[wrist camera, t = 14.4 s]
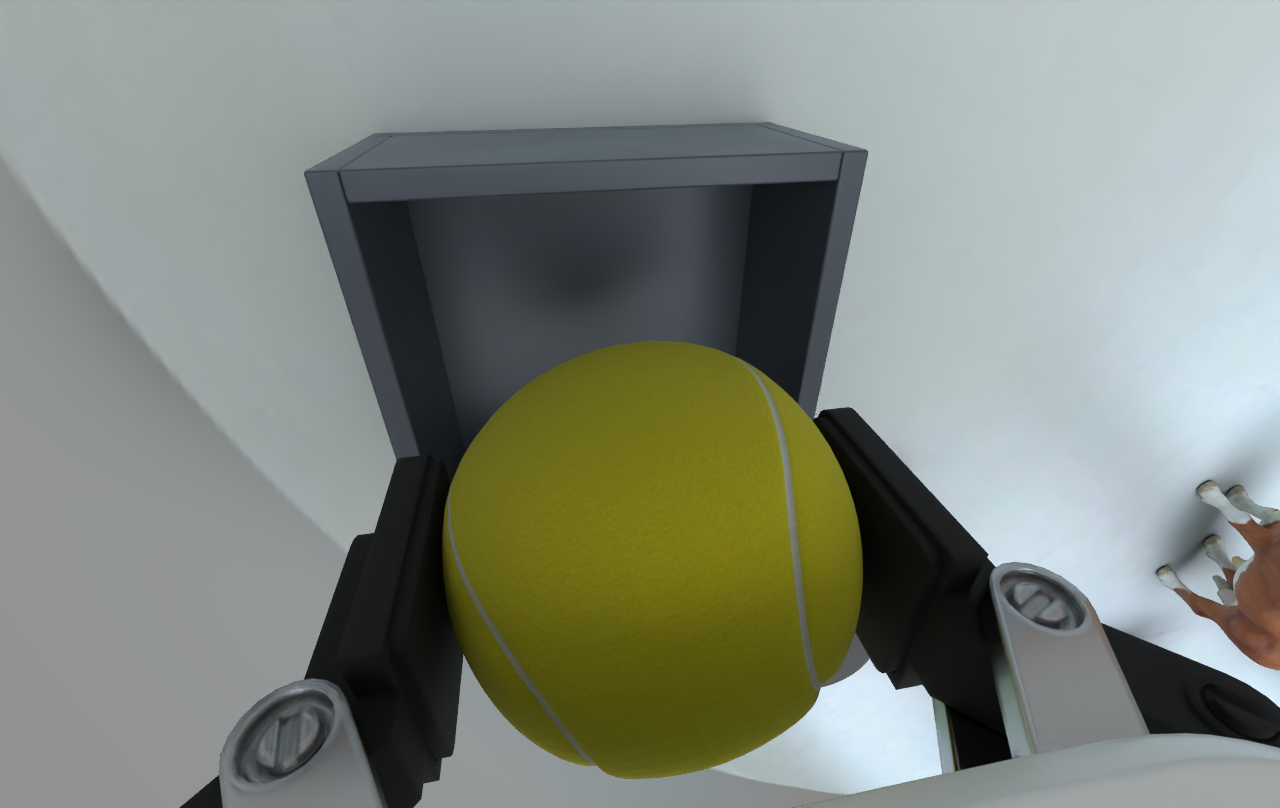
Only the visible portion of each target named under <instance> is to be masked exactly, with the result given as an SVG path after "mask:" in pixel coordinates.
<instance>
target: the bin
mask: <svg viewBox="0 0 1280 808" xmlns="http://www.w3.org/2000/svg"><path fill="white" fill-rule="evenodd" d="M867 156H868V151H867V150H866V149H862V148H858V147H855V146H851V145H848V144H844V143H841V142H837V141H833V140H830V139H826V138H823V137H819V136H816V135H812V134H809V133H805V132H801V131H798V130H794V129H791V128H787V127H784V126H780V125H777V124H773V123H770V122H765V123H730V124H695V125H661V126H626V127H592V128H557V129H522V130H488V131H453V132H418V133H384V134H373V135H371V136H369V137H368V138H366V139H364V140H362V141H360V142H358V143H357V144H355V145H353V146H351V147H349V148H347V149H345V150H344V151H342V152H340V153H338V154H336V155H334V156H333V157H331V158H329V159H327V160H325V161H323V162H321V163H320V164H318V165H316V166H314V167H312V168H310V169H309V170H307V171H305V172H304V175H305V178H306V182H307V185H308V188H309V191H310V194H311V197H312V200H313V203H314V206H315V209H316V212H317V216H318V219H319V222H320V225H321V228H322V231H323V234H324V237H325V240H326V243H327V246H328V250H329V253H330V256H331V259H332V262H333V265H334V268H335V271H336V274H337V277H338V280H339V284H340V287H341V290H342V293H343V296H344V299H345V302H346V305H347V308H348V311H349V314H350V317H351V321H352V324H353V327H354V330H355V333H356V336H357V339H358V342H359V345H360V348H361V351H362V355H363V358H364V361H365V364H366V367H367V370H368V373H369V376H370V379H371V382H372V385H373V389H374V392H375V395H376V398H377V401H378V404H379V407H380V410H381V413H382V416H383V419H384V423H385V426H386V429H387V432H388V435H389V438H390V441H391V444H392V447H393V450H394V453H395V457H396V460H397V459H399V458H403V457H412V456H421V455H429V454H430V455H432V457H433V459H434V462H436V461H443V462H444V463H445V466H446V470H447V473H448V477H449V481H450V485H451V483H452V481H453V478H454V476H455V473H456V471H457V469H458V466H459V464H460V462H461V460H462V458H463V456H464V454H465V453H466V451H467V449H468V448H469V446H470V444H471V443H472V441H473V440H474V438H475V437H476V436H477V434H478V433H479V432H480V430H481V429H482V428H483V427H484V425H485V424H486V423H487V421H488V420H489V419H490V418H491V417H492V416H493V414H494V413H495V412H496V411H497V410H498V409H499V408H500V407H501V406H502V405H503V404H504V403H505V402H506V401H507V400H508V399H509V398H510V397H512V396H513V395H514V394H515V393H516V392H518V391H519V390H520V389H521V388H523V387H524V386H525V385H527V384H528V383H529V382H531V381H532V380H534V379H535V378H537V377H538V376H540V375H541V374H543V373H544V372H546V371H548V370H550V369H552V368H554V367H556V366H557V365H559V364H561V363H563V362H566V361H568V360H570V359H573V358H575V357H577V356H579V355H582V354H586V353H589V352H592V351H595V350H598V349H602V348H606V347H610V346H614V345H620V344H626V343H632V342H643V341H675V342H685V343H691V344H697V345H701V346H706V347H710V348H714V349H717V350H720V351H722V352H725V353H727V354H729V355H732V356H734V357H737V358H739V359H741V360H743V361H745V362H747V363H749V364H750V365H752V366H754V367H755V368H757V369H758V370H760V371H761V372H762V373H764V374H765V375H766V376H768V377H769V378H770V379H771V380H772V381H774V382H775V383H776V384H777V385H778V386H780V387H781V388H782V389H783V390H784V391H785V392H786V393H787V394H788V395H789V396H791V397H792V398H793V399H794V400H795V402H796V403H797V404H798V405H799V406H800V407H801V408H802V409H803V410H804V412H805V413H806V414H807V415H808V416H809V417H810V419H811V420H813V419H814V416H815V411H816V406H817V401H818V396H819V391H820V386H821V381H822V376H823V371H824V367H825V362H826V357H827V352H828V347H829V342H830V337H831V332H832V327H833V323H834V318H835V313H836V308H837V303H838V298H839V293H840V288H841V283H842V279H843V274H844V269H845V264H846V259H847V254H848V249H849V244H850V239H851V234H852V230H853V225H854V220H855V215H856V210H857V205H858V200H859V195H860V190H861V186H862V181H863V176H864V171H865V166H866V161H867Z"/></svg>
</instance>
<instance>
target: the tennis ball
mask: <svg viewBox="0 0 1280 808" xmlns="http://www.w3.org/2000/svg"><path fill="white" fill-rule="evenodd" d="M442 562H443V579H444V586H445V593H446V600H447V606H448V610H449V614H450V617H451V621H452V625H453V628H454V631H455V634H456V637H457V639H458V642H459V644H460V647H461V649H462V651H463V654H464V656H465V658H466V660H467V662H468V664H469V666H470V668H471V670H472V671H473V673H474V675H475V677H476V679H477V680H478V682H479V683H480V685H481V686H482V688H483V690H484V691H485V693H486V694H487V695H488V697H489V698H490V700H491V701H492V702H493V704H494V705H495V706H496V707H497V709H498V710H499V711H500V712H501V713H502V715H503V716H504V717H505V718H506V719H507V720H508V721H509V722H510V723H511V724H512V725H513V726H514V727H515V728H516V729H517V730H518V731H519V732H520V733H522V734H523V735H524V736H525V737H527V738H528V739H529V740H531V741H532V742H533V743H535V744H536V745H538V746H539V747H540V748H542V749H544V750H546V751H548V752H550V753H551V754H553V755H555V756H557V757H559V758H561V759H563V760H566V761H569V762H572V763H575V764H578V765H584V766H596V765H597V766H598V767H599V768H600V769H602V770H603V771H604V772H606V773H607V774H609V775H612V776H615V777H618V778H625V779H643V778H660V777H668V776H675V775H681V774H686V773H691V772H696V771H701V770H704V769H707V768H711V767H714V766H717V765H721V764H723V763H726V762H728V761H731V760H733V759H735V758H738V757H740V756H743V755H745V754H747V753H749V752H750V751H752V750H754V749H756V748H758V747H760V746H762V745H764V744H766V743H767V742H769V741H770V740H772V739H774V738H775V737H777V736H778V735H780V734H782V733H783V732H784V731H786V730H787V729H789V728H790V727H791V726H793V725H794V724H795V723H797V722H798V721H799V720H800V719H801V718H802V717H804V716H805V715H806V714H807V712H808V711H809V710H810V709H811V708H812V707H813V705H814V704H815V702H816V700H817V698H818V695H819V691H820V688H821V685H822V684H823V683H825V682H826V681H828V680H829V679H830V678H832V677H833V676H834V675H835V674H836V673H837V671H838V670H839V668H840V667H841V666H842V664H843V661H844V659H845V657H846V655H847V653H848V651H849V648H850V645H851V643H852V640H853V637H854V633H855V630H856V626H857V621H858V617H859V612H860V605H861V596H862V586H863V557H862V543H861V536H860V529H859V523H858V518H857V514H856V510H855V506H854V502H853V499H852V496H851V493H850V490H849V487H848V484H847V482H846V479H845V476H844V474H843V471H842V469H841V467H840V465H839V463H838V461H837V459H836V457H835V455H834V453H833V452H832V450H831V448H830V446H829V444H828V443H827V441H826V440H825V438H824V437H823V435H822V434H821V432H820V431H819V429H818V428H817V426H816V425H815V424H814V422H813V421H812V420H811V419H810V417H809V416H808V415H807V414H806V413H805V412H804V410H803V409H802V408H801V407H800V406H799V405H798V404H797V403H796V402H795V400H794V399H793V398H792V397H791V396H789V395H788V394H787V393H786V392H785V391H784V390H783V389H782V388H781V387H780V386H778V385H777V384H776V383H775V382H774V381H772V380H771V379H770V378H769V377H768V376H766V375H765V374H764V373H762V372H761V371H760V370H758V369H757V368H755V367H754V366H752V365H750V364H749V363H747V362H745V361H743V360H741V359H739V358H737V357H734V356H732V355H729V354H727V353H725V352H722V351H720V350H717V349H714V348H710V347H706V346H701V345H697V344H691V343H685V342H675V341H643V342H632V343H626V344H620V345H614V346H610V347H606V348H602V349H598V350H595V351H592V352H589V353H586V354H582V355H579V356H577V357H575V358H573V359H570V360H568V361H566V362H563V363H561V364H559V365H557V366H556V367H554V368H552V369H550V370H548V371H546V372H544V373H543V374H541V375H540V376H538V377H537V378H535V379H534V380H532V381H531V382H529V383H528V384H527V385H525V386H524V387H523V388H521V389H520V390H519V391H518V392H516V393H515V394H514V395H513V396H512V397H510V398H509V399H508V400H507V401H506V402H505V403H504V404H503V405H502V406H501V407H500V408H499V409H498V410H497V411H496V412H495V413H494V414H493V416H492V417H491V418H490V419H489V420H488V421H487V423H486V424H485V425H484V427H483V428H482V429H481V430H480V432H479V433H478V434H477V436H476V437H475V438H474V440H473V441H472V443H471V444H470V446H469V448H468V449H467V451H466V453H465V454H464V456H463V458H462V460H461V462H460V464H459V466H458V469H457V471H456V473H455V476H454V478H453V481H452V483H451V485H450V489H449V493H448V497H447V500H446V505H445V512H444V522H443V533H442Z"/></svg>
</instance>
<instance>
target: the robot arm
mask: <svg viewBox="0 0 1280 808" xmlns="http://www.w3.org/2000/svg"><path fill="white" fill-rule="evenodd" d="M812 421H813V422H814V424H815V425H816V426H817V428H818V429H819V431H820V432H821V434H822V435H823V437H824V438H825V440H826V441H827V443H828V444H829V446H830V448H831V450H832V452H833V453H834V455H835V457H836V459H837V461H838V463H839V465H840V467H841V469H842V471H843V474H844V476H845V479H846V482H847V484H848V487H849V490H850V493H851V496H852V499H853V502H854V506H855V510H856V514H857V518H858V523H859V529H860V536H861V543H862V557H863V586H862V596H861V605H860V612H859V617H858V621H857V626H856V630H855V633H856V635H857V636H858V638H859V640H860V642H861V643H862V645H863V647H864V649H865V650H866V652H867V654H868V656H869V657H870V659H871V661H872V663H873V664H874V666H875V667H876V669H877V670H878V671H879V672H881V673H887V675H888V677H889V679H890V680H891V682H892V684H893V685H894V687H895V689H896V690H898V689H903V688H908V687H913V686H918V685H923V686H924V687H925V689H926V690H927V692H928V694H929V695H930V696H931V697H932V700H933V708H934V715H935V723H936V730H937V738H938V745H939V753H940V760H941V767H942V775H937V776H932V777H928V778H923V779H919V780H914V781H910V782H905V783H901V784H896V785H892V786H887V787H883V788H878V789H873V790H869V791H865V792H860V793H856V794H851V795H847V796H842V797H838V798H834V799H829V800H825V801H820V802H816V803H811V804H807V805H803V806H798V807H794V808H1280V708H1279V707H1278V706H1277V705H1276V704H1275V703H1273V702H1272V701H1271V700H1270V699H1269V698H1268V697H1266V696H1265V695H1263V694H1262V693H1260V692H1259V691H1257V690H1256V689H1254V688H1252V687H1251V686H1249V685H1248V684H1246V683H1244V682H1242V681H1240V680H1238V679H1236V678H1234V677H1232V676H1230V675H1228V674H1225V673H1223V672H1221V671H1218V670H1216V669H1213V668H1211V667H1208V666H1206V665H1203V664H1201V663H1198V662H1196V661H1193V660H1191V659H1189V658H1186V657H1184V656H1181V655H1179V654H1176V653H1174V652H1171V651H1169V650H1166V649H1164V648H1161V647H1159V646H1157V645H1154V644H1152V643H1149V642H1147V641H1144V640H1142V639H1139V638H1137V637H1134V636H1132V635H1129V634H1127V633H1125V632H1122V631H1120V630H1117V629H1115V628H1112V627H1110V626H1107V625H1105V624H1102V623H1100V620H1099V618H1098V616H1097V614H1096V611H1095V609H1094V608H1093V606H1092V605H1091V603H1090V602H1089V600H1088V598H1087V597H1086V596H1085V595H1084V594H1083V593H1082V592H1081V591H1080V590H1079V589H1078V588H1077V587H1076V586H1074V585H1073V584H1071V583H1070V582H1068V581H1067V580H1066V579H1064V578H1063V577H1061V576H1059V575H1057V574H1055V573H1053V572H1051V571H1049V570H1047V569H1045V568H1042V567H1039V566H1035V565H1032V564H1028V563H1019V562H1012V563H1005V564H1001V565H1000V566H998V567H995V566H994V565H993V564H992V563H991V561H990V560H989V559H988V558H987V556H988V553H987V552H986V551H985V550H984V549H983V548H982V547H981V546H980V545H979V544H978V543H977V542H976V540H975V539H974V538H973V537H972V536H971V535H970V534H969V533H968V532H967V531H966V530H965V529H964V528H963V526H962V525H961V524H960V523H959V522H958V521H957V520H956V519H955V518H954V517H953V516H952V515H951V514H950V512H949V511H948V510H947V509H946V508H945V507H944V506H943V505H942V504H941V503H940V502H939V501H938V500H937V498H936V497H935V496H934V495H933V494H932V493H931V492H930V491H929V490H928V489H927V488H926V487H925V486H924V484H923V483H922V482H921V481H920V480H919V479H918V478H917V477H916V476H915V475H914V474H913V473H912V472H911V470H910V469H909V468H908V467H907V466H906V465H905V464H904V463H903V462H902V461H901V460H900V459H899V458H898V456H897V455H896V454H895V453H894V452H893V451H892V450H891V449H890V448H889V447H888V446H887V445H886V444H885V442H884V441H883V440H882V439H881V438H880V437H879V436H878V435H877V434H876V433H875V432H874V431H873V430H872V428H871V427H870V426H869V425H868V424H867V423H866V422H865V421H864V420H863V419H862V418H861V417H860V416H859V414H858V413H857V412H856V411H855V410H854V409H852V408H849V407H846V408H837V409H828V410H823V411H821V412H820V414H819V416H818V418H814V419H813V420H812ZM449 489H450V481H449V477H448V473H447V470H446V466H445V463H444V462H443V461H436V462H434V459H433V457H432V455H430V454H429V455H421V456H412V457H403V458H399V459H397V462H396V464H395V467H394V471H393V474H392V477H391V480H390V484H389V487H388V490H387V493H386V496H385V500H384V503H383V506H382V509H381V513H380V516H379V519H378V522H377V526H376V529H375V532H374V533H371V534H363V535H358V536H357V537H356V538H355V539H354V540H353V542H352V544H351V546H350V549H349V552H348V555H347V558H346V561H345V564H344V567H343V569H342V572H341V575H340V578H339V581H338V584H337V587H336V589H335V592H334V595H333V598H332V601H331V604H330V607H329V610H328V613H327V615H326V618H325V621H324V624H323V627H322V630H321V632H320V635H319V638H318V641H317V644H316V647H315V649H314V652H313V655H312V658H311V661H310V664H309V667H308V670H307V673H306V675H305V678H304V680H301V681H296V682H293V683H290V684H288V685H286V686H283V687H281V688H279V689H276V690H275V691H273V692H272V693H270V694H269V695H267V696H266V697H264V698H263V699H261V700H260V701H258V702H257V703H256V704H255V705H254V706H253V707H252V708H251V709H250V710H249V711H248V712H247V713H245V714H244V715H243V716H242V717H241V719H240V720H239V721H238V723H237V724H236V726H235V727H234V728H233V730H232V731H231V733H230V734H229V736H228V738H227V740H226V742H225V745H224V747H223V749H222V752H221V754H220V764H219V775H218V776H217V777H216V778H215V779H213V781H211V782H210V783H209V784H207V785H206V786H205V787H204V788H203V789H202V790H200V791H199V792H198V793H197V794H195V795H194V796H193V797H192V798H191V799H190V800H188V801H187V802H186V803H185V804H184V805H182V806H181V807H180V808H413V807H414V806H415V805H416V804H417V803H418V802H419V801H420V800H421V796H422V789H423V783H428V782H433V781H438V780H439V779H440V778H439V777H440V770H441V761H442V758H445V757H450V756H452V754H453V750H454V744H455V735H456V724H457V714H458V704H459V693H460V684H461V673H462V663H463V651H462V649H461V647H460V644H459V642H458V639H457V637H456V634H455V631H454V628H453V625H452V621H451V617H450V614H449V610H448V606H447V600H446V593H445V586H444V579H443V562H442V533H443V522H444V512H445V505H446V500H447V497H448V493H449Z"/></svg>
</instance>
